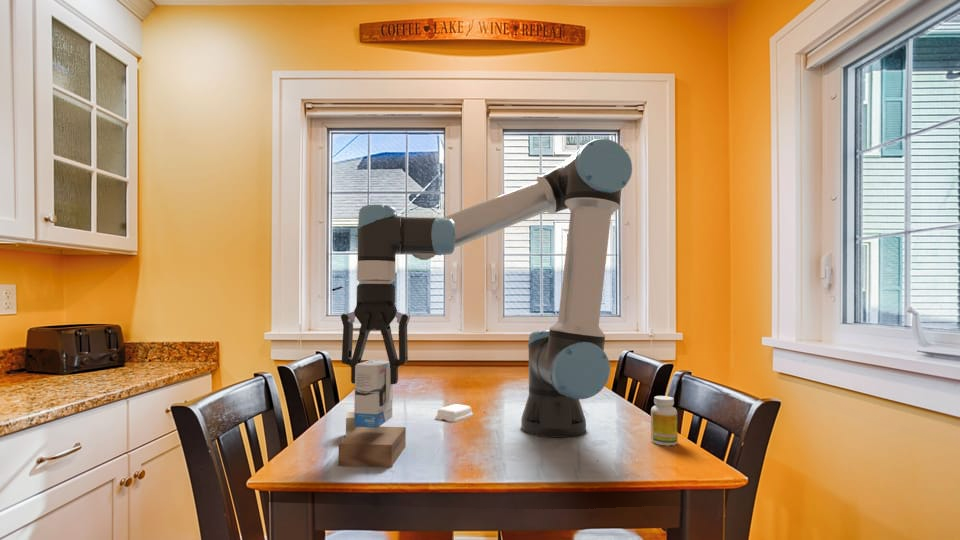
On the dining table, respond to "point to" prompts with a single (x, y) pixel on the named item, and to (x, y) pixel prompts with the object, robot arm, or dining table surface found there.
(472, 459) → the dining table surface
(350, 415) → the maple cube
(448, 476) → the dining table surface
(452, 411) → the soap
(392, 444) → the walnut block
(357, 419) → the ink box
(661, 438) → the supplement bottle
